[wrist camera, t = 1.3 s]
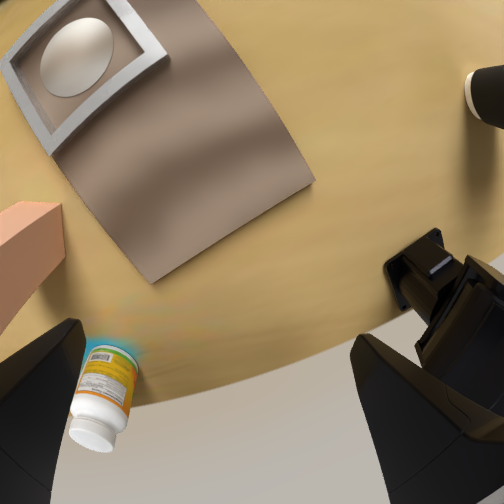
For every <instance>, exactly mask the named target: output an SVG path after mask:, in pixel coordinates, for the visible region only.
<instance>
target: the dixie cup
mask: <svg viewBox="0 0 504 504" xmlns="http://www.w3.org/2000/svg"><path fill="white" fill-rule="evenodd" d="M465 97H466V101H467V104H468V106H469V109H470V110H471V112H472V113H473V115H474V116H475V117H477V118H478V119H480V120H482V121H484V122H485V123H487V124H489V125H492V126H495V127H498V128H501V129H504V65H500V66H494V67H488V68H482V69H478V70H476V71H475V72H472V73H470V74H469V75H468V76H467V78H466V81H465Z"/></svg>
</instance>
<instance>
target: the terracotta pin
mask: <svg viewBox="0 0 504 504" xmlns="http://www.w3.org/2000/svg"><path fill="white" fill-rule="evenodd" d="M65 257H66V254H65V246H64V236H63V224H62V208H61V203H46V202H26V201H20V202H18V203H16V204H14V205H13V206H11V207H9V208H7V209H6V210H4V211H2V212H0V335H1V334H2V333H3V331H4V330H5V329H6V327H7V326H8V324H9V323H10V322H11V320H12V319H13V318H14V317H15V315H16V314H17V313H18V311H19V310H20V309H21V308H22V306H23V305H24V304H25V303H26V301H27V300H28V299H29V298H30V296H31V295H32V294H33V293H34V292H35V290H36V289H37V288H38V287H39V286H40V285H41V283H42V282H43V281H44V280H45V279H46V278H47V277H48V275H49V274H50V273H51V272H52V271H53V270H54V269H55V268H56V266H57V265H58V264H59V263H60V262H61V261H62V260H63V259H64V258H65Z"/></svg>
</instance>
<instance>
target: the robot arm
mask: <svg viewBox="0 0 504 504" xmlns="http://www.w3.org/2000/svg"><path fill="white" fill-rule="evenodd" d="M435 234H436V235H435ZM464 261H465V263H464V265H463V264H462V263H461V262H459V261H458V260H457V259H455V258H454V257H453V255H452V254H450V253H449V252H448V251H446V250H445V248H444V243H443V239H442V234H441V231H440V230H439V229H438V228H434V229H433V230H431V231H430V232H428V233H427V234H426V235H424V236H423V237H421V238H420V239H419V240H417V241H416V242H414V243H413V244H411V245H410V246H409V247H407V248H406V249H404V250H403V251H401V252H400V253H398V254H397V255H395V256H394V257H392V258H391V259H389V260H388V261H387V262H386V263H385V270H386V273H387V275H388V278H389V281H390V284H391V287H392V290H393V293H394V296H395V299H396V302H397V305H398V308H399V309H400V310H401V311H405V310H407V309H408V308H410V307H411V306H412V308H413V309H414V310H415V311H416V312H417V313H418V315H419V316H420V317H421V318H422V319H423V320H424V322H425V323H426V324H427V325H428V328H427V329H426V331H425V332H424V334H423V335H422V337H421V338H420V340H418V341H417V343H416V344H415V349H416V352H417V355H418V357H419V360H420V363H421V366H422V368H420V367H419V366H417V365H416V364H414V363H413V362H411V361H410V360H408V359H407V358H405V357H404V356H402V355H401V354H400V353H398V352H396V351H395V350H393V349H392V348H391V347H389V346H388V345H386V344H385V343H383V342H382V341H380V340H379V339H377V338H376V337H374V336H373V335H371V334H368V333H367V334H359V335H358V336H357V338H356V340H355V342H354V345H353V347H352V349H351V352H350V360H351V364H352V369H353V373H354V378H355V382H356V387H357V391H358V395H359V399H360V402H361V405H362V408H363V411H364V413H365V417H366V420H367V423H368V426H369V430H370V433H371V436H372V439H373V443H374V446H375V449H376V452H377V456H378V459H379V463H380V466H381V470H382V473H383V477H384V480H385V484H386V488H387V491H388V496H389V500H390V503H391V504H504V275H503V274H502V273H500V272H499V271H497V270H496V269H495V268H493V267H492V266H490V265H488V264H486V263H484V262H482V261H480V260H478V259H476V258H474V257H472V256H470V255H468V254H467V256H466V258H465V260H464ZM391 264H392V265H391ZM390 265H391V266H390ZM389 266H390V267H389ZM85 348H86V338H85V334H84V330H83V326H82V323H81V321H80V320H79V319H74V318H68V319H66V320H64V321H63V322H61V323H60V324H58V325H57V326H55V327H54V328H52V329H50V330H49V331H47V332H46V333H44V334H43V335H41V336H40V337H38V338H37V339H35V340H34V341H32V342H31V343H29V344H28V345H26V346H25V347H23V348H22V349H20V350H19V351H17V352H16V353H14V354H13V355H11V356H10V357H8V358H7V359H5V360H4V361H3V362H1V363H0V504H50V499H51V491H52V485H53V480H54V474H55V469H56V464H57V459H58V455H59V450H60V446H61V441H62V437H63V433H64V429H65V425H66V422H67V418H68V414H69V411H70V407H71V404H72V401H73V397H74V394H75V391H76V387H77V384H78V379H79V374H80V370H81V365H82V360H83V356H84V352H85Z"/></svg>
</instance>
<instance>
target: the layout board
mask: <svg viewBox="0 0 504 504" xmlns="http://www.w3.org/2000/svg"><path fill="white" fill-rule="evenodd" d="M0 70H1V72H2V74H3V77H4V79H5V81H6V83H7V85H8V87H9V89H10V90H11V92H12V94H13V96H14V98H15V100H16V102H17V104H18V105H19V107H20V109H21V111H22V113H23V114H24V116H25V118H26V120H27V121H28V123H29V125H30V127H31V128H32V130H33V132H34V133H35V135H36V137H37V138H38V140H39V141H40V143H41V145H42V146H43V148H44V149H45V151H46V153H47V154H48V156H52V157H53V159H54V160H55V162H56V163H57V165H58V166H59V168H60V169H61V171H62V172H63V174H64V175H65V177H66V178H67V179H68V181H69V182H70V184H71V185H72V187H73V188H74V189H75V191H76V192H77V194H78V195H79V196H80V198H81V199H82V200H83V202H84V203H85V204H86V206H87V207H88V209H89V210H90V211H91V213H92V214H93V215H94V216H95V218H96V219H97V220H98V222H99V223H100V224H101V226H102V227H103V228H104V229H105V231H106V232H107V233H108V234H109V236H110V237H111V238H112V239H113V241H114V242H115V243H116V244H117V246H118V247H119V248H120V249H121V250H122V252H123V253H124V254H125V255H126V256H127V258H128V259H129V260H130V261H131V262H132V263H133V265H134V266H135V267H136V268H137V269H138V270H139V272H140V273H141V274H142V275H143V276H144V277H145V278H146V280H147V281H148V282H149V283H150V284H152V283H154V282H155V281H157V280H158V279H160V278H161V277H163V276H165V275H166V274H168V273H169V272H171V271H172V270H174V269H175V268H177V267H178V266H180V265H181V264H183V263H184V262H186V261H187V260H189V259H191V258H192V257H194V256H195V255H197V254H198V253H200V252H201V251H203V250H204V249H206V248H208V247H209V246H211V245H212V244H214V243H215V242H217V241H219V240H220V239H222V238H223V237H225V236H226V235H228V234H230V233H231V232H233V231H234V230H236V229H238V228H239V227H241V226H242V225H244V224H246V223H247V222H249V221H250V220H252V219H254V218H255V217H257V216H258V215H260V214H262V213H263V212H265V211H266V210H268V209H270V208H271V207H273V206H275V205H276V204H278V203H279V202H281V201H283V200H284V199H286V198H288V197H289V196H291V195H293V194H294V193H296V192H298V191H299V190H301V189H302V188H304V187H306V186H307V185H309V184H311V183H312V182H314V181H316V179H315V177H314V175H313V174H312V172H311V170H310V168H309V166H308V165H307V163H306V161H305V159H304V158H303V156H302V154H301V152H300V151H299V149H298V147H297V145H296V144H295V142H294V140H293V139H292V137H291V135H290V134H289V132H288V130H287V129H286V127H285V125H284V124H283V122H282V120H281V119H280V117H279V116H278V114H277V112H276V111H275V109H274V108H273V106H272V105H271V103H270V101H269V100H268V98H267V97H266V95H265V94H264V92H263V91H262V89H261V88H260V86H259V85H258V83H257V82H256V80H255V79H254V77H253V76H252V74H251V73H250V71H249V70H248V69H247V67H246V66H245V64H244V63H243V61H242V60H241V59H240V57H239V56H238V54H237V53H236V52H235V50H234V49H233V47H232V46H231V45H230V43H229V42H228V41H227V39H226V38H225V37H224V35H223V34H222V33H221V31H220V30H219V29H218V28H217V26H216V25H215V24H214V22H213V21H212V20H211V19H210V17H209V16H208V15H207V14H206V12H205V11H204V10H203V9H202V7H201V6H200V5H199V4H198V3H197V1H196V0H57V1H56V2H55V3H53V4H52V5H51V6H50V7H49V8H48V9H47V10H46V11H45V12H44V13H43V14H42V15H41V16H40V17H39V18H38V19H37V20H36V21H35V22H34V23H33V24H32V25H31V26H30V27H29V28H28V29H27V30H26V31H25V32H24V33H23V34H22V35H21V36H20V38H19V39H18V40H17V41H16V42H15V43H14V44H13V46H12V47H11V48H10V49H9V50H8V51H7V53H6V54H5V55H4V56H3V58H2V59H1V60H0Z"/></svg>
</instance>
